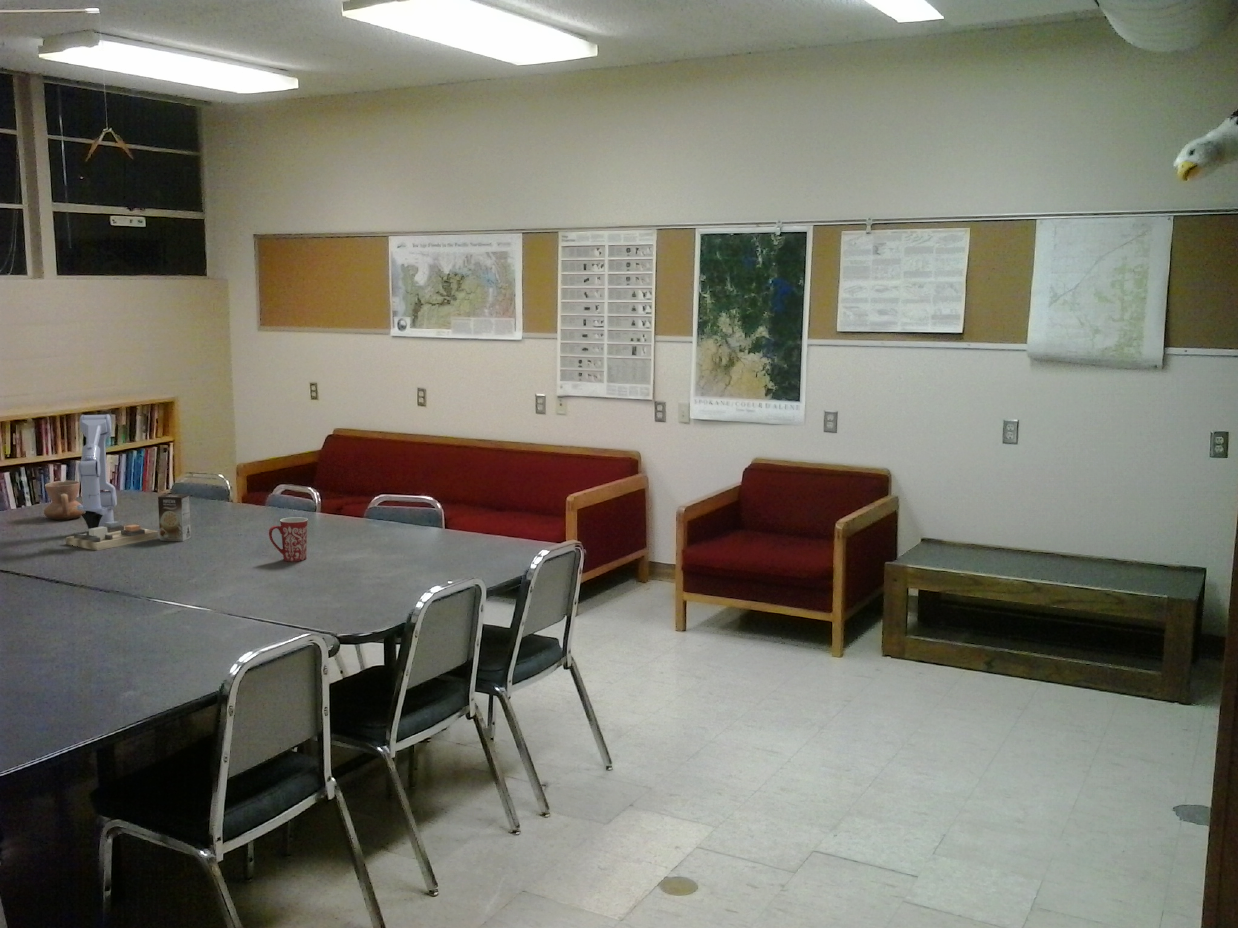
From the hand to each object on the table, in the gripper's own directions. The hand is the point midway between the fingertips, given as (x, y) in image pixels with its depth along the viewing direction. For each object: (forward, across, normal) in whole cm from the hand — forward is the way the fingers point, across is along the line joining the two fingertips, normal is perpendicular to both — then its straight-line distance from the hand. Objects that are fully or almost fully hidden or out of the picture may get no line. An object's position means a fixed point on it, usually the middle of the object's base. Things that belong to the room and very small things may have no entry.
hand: (93, 532), depth 379 cm
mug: (+5, +74, +22) cm, 77 cm away
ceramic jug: (+5, -54, +23) cm, 59 cm away
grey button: (+1, -7, +12) cm, 14 cm away
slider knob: (+2, +3, 0) cm, 3 cm away
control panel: (+5, -1, +8) cm, 9 cm away
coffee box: (+5, +15, +22) cm, 27 cm away
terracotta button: (+1, +5, +12) cm, 13 cm away
